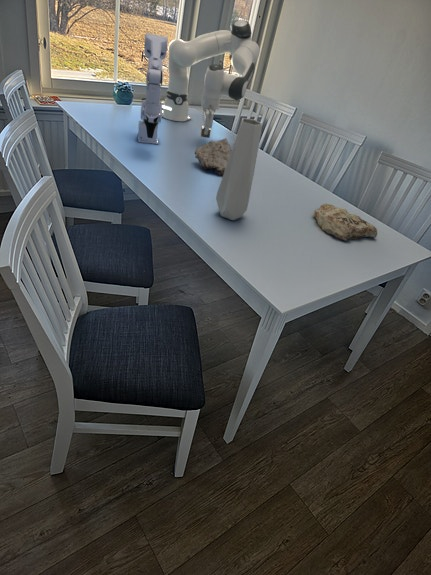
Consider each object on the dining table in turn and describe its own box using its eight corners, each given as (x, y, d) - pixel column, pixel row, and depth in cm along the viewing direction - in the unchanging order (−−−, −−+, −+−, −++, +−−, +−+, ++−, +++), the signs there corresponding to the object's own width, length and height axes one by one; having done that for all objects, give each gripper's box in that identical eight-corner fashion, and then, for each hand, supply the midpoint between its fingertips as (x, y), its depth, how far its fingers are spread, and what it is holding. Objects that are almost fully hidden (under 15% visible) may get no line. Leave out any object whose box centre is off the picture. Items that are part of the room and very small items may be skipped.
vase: (253, 221, 137) (278, 128, 117) (226, 224, 131) (248, 127, 111) (236, 206, 144) (257, 116, 124) (210, 208, 139) (227, 114, 119)
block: (209, 138, 190) (210, 129, 188) (201, 136, 189) (202, 128, 187) (209, 135, 193) (210, 127, 191) (200, 133, 193) (202, 125, 190)
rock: (234, 142, 173) (214, 126, 161) (245, 170, 166) (225, 155, 155) (210, 161, 180) (189, 148, 168) (219, 189, 174) (199, 176, 162)
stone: (347, 232, 131) (303, 198, 147) (341, 246, 135) (298, 211, 150) (382, 227, 141) (337, 195, 156) (375, 240, 144) (331, 207, 160)
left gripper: (161, 107, 152) (159, 141, 160) (163, 99, 163) (160, 131, 171) (144, 104, 150) (142, 139, 159) (146, 96, 162) (144, 128, 170)
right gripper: (217, 110, 174) (212, 140, 183) (215, 99, 190) (210, 127, 199) (204, 107, 173) (199, 137, 182) (203, 97, 189) (199, 125, 198)
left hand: (150, 134), depth 165 cm, fingers open, 7 cm apart
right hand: (205, 132), depth 190 cm, fingers closed on block, 4 cm apart
